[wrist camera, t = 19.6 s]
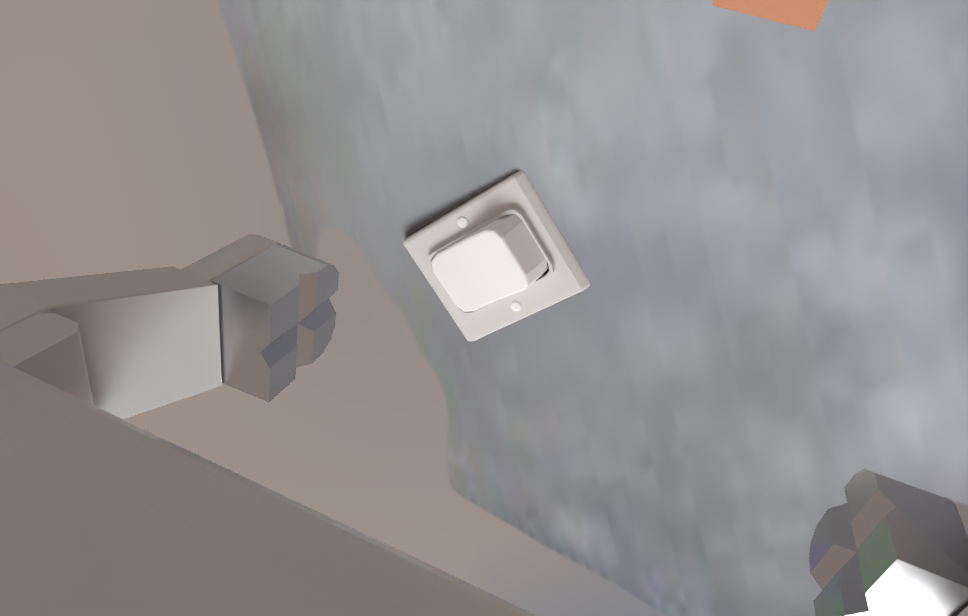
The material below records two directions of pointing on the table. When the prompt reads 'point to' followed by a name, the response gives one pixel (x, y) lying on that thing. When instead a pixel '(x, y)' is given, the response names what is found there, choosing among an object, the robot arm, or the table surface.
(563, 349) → the table surface
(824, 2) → the salmon square-ended bar
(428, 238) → the light switch
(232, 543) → the robot arm
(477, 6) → the table surface
